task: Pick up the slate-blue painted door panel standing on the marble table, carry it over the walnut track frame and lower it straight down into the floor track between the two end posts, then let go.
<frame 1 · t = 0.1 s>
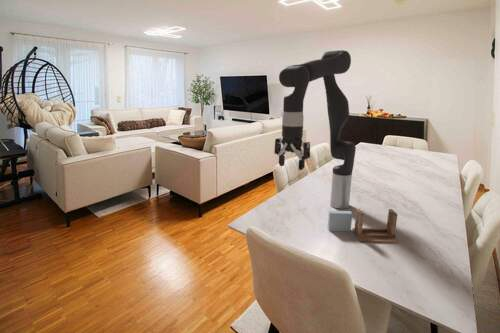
hand: (291, 167, 110), 29 cm above the table, fingers open, 8 cm apart
door panel: (338, 229, 123), on the table
track frame: (373, 236, 118), on the table
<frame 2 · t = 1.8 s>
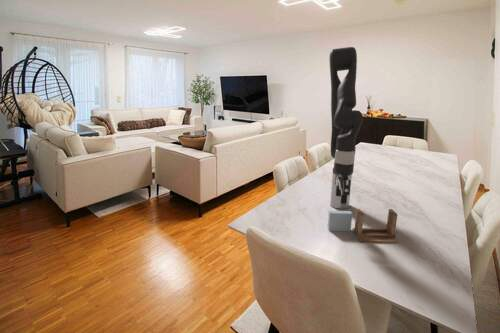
hand: (340, 199, 120), 13 cm above the table, fingers open, 8 cm apart
nothing on the table moved.
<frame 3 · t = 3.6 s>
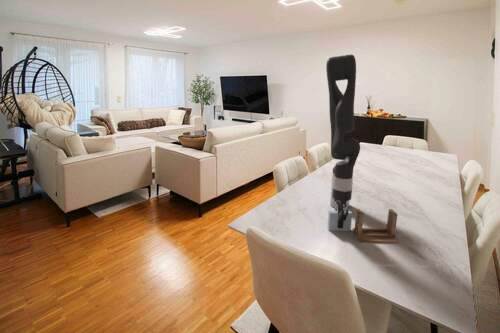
hand: (339, 226, 123), 2 cm above the table, fingers closed on door panel, 2 cm apart
door panel: (338, 229, 123), on the table, touching gripper
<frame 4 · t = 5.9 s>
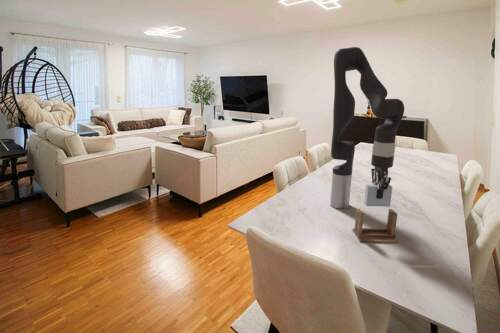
hand: (377, 196, 113), 17 cm above the table, fingers closed on door panel, 2 cm apart
door panel: (376, 205, 114), point 13 cm above the table, touching gripper
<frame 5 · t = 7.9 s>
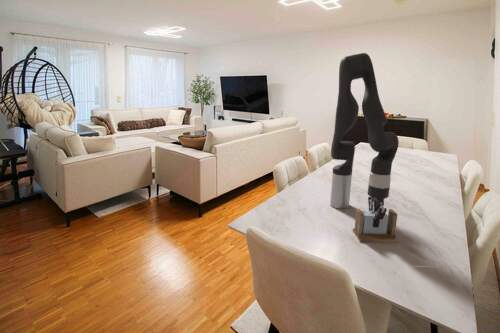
hand: (374, 225, 116), 5 cm above the table, fingers closed on door panel, 2 cm apart
door panel: (373, 233, 117), point 1 cm above the table, touching gripper
when the fingers open (3 cm above the table, at t = 8.6 s): door panel stays where it is, resting on track frame.
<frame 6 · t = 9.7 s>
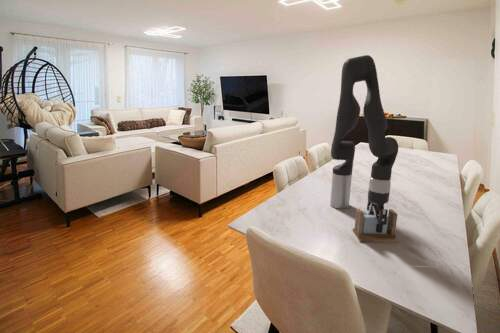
hand: (374, 227, 117), 4 cm above the table, fingers open, 8 cm apart
door panel: (373, 234, 117), point 1 cm above the table, touching track frame
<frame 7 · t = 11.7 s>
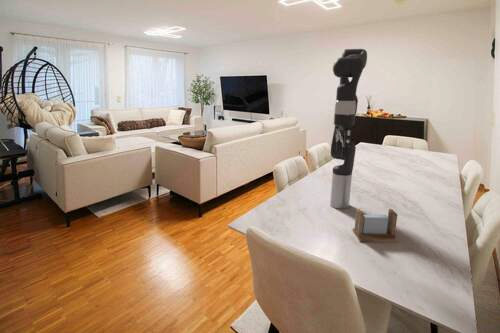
hand: (341, 154, 116), 32 cm above the table, fingers open, 8 cm apart
nothing on the table moved.
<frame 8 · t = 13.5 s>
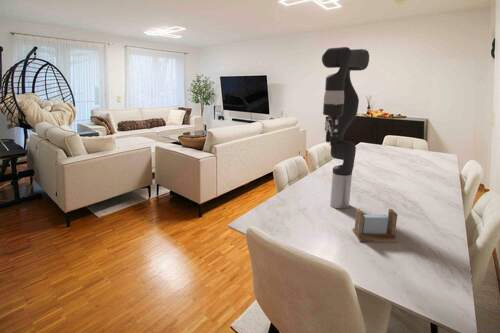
hand: (330, 143, 117), 36 cm above the table, fingers open, 8 cm apart
nothing on the table moved.
at the end: door panel 0.3 cm off-centre on the track frame, point 0.8 cm above the track frame's base; door panel tilted 0°; the gripper is holding nothing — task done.
